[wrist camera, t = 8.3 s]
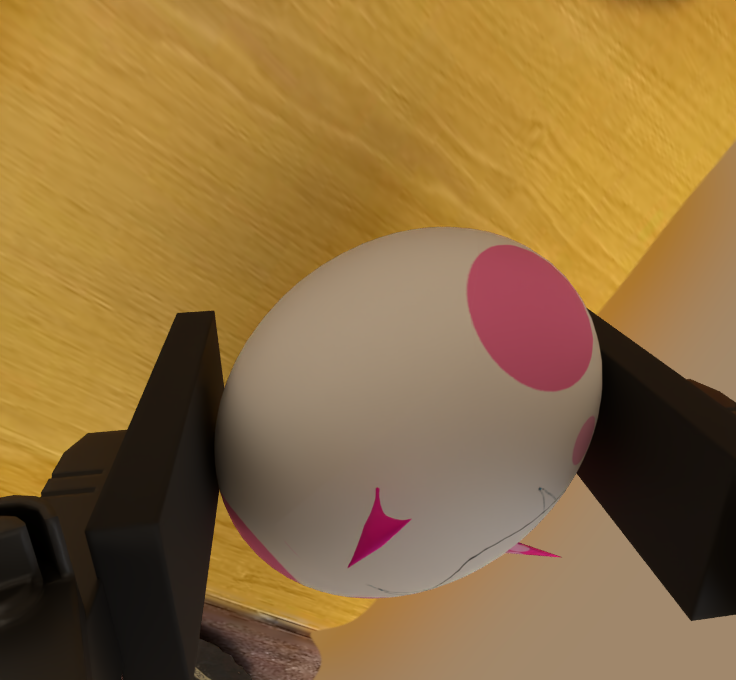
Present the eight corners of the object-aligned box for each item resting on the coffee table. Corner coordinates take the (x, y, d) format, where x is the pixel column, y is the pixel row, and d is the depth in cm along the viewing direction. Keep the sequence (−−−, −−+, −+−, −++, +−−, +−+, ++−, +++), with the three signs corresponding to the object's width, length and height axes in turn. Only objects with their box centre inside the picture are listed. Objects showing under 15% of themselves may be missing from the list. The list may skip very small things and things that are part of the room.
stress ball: (892, 627, 7) (661, 388, 14) (480, 166, 5) (427, 130, 12) (448, 861, 10) (422, 563, 16) (33, 594, 8) (189, 371, 14)
